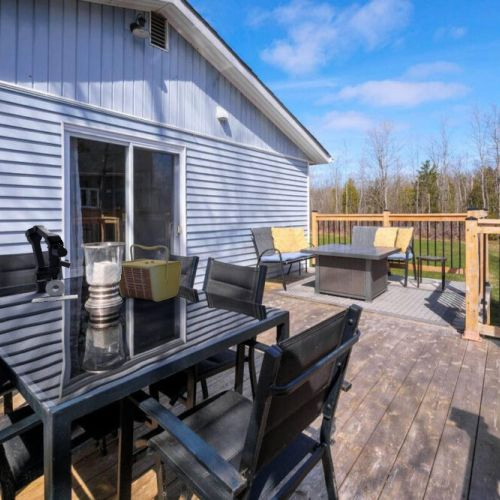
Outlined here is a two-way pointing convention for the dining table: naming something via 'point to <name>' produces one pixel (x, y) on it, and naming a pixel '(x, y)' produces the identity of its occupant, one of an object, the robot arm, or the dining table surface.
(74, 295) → the placemat
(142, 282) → the picnic basket
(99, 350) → the dining table surface
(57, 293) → the donut
